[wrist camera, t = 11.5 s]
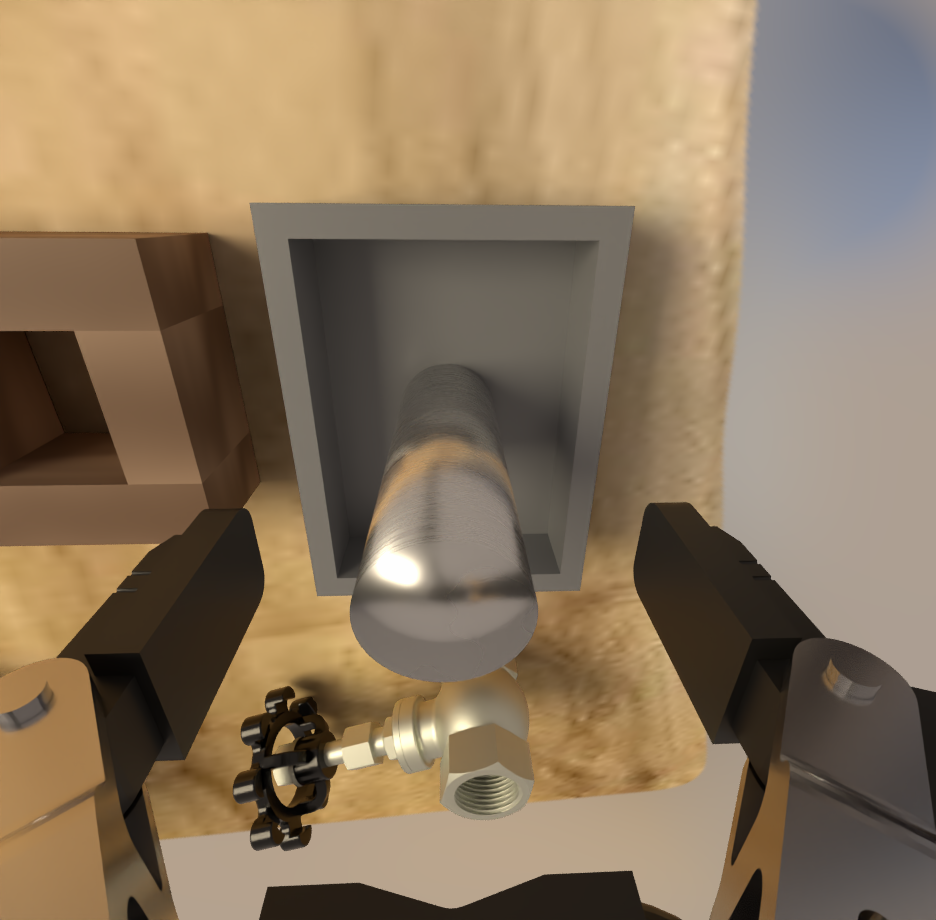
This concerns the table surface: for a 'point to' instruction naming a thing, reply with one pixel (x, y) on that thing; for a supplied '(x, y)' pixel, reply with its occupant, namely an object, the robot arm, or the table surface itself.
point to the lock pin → (445, 540)
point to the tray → (444, 353)
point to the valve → (393, 753)
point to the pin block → (119, 390)
